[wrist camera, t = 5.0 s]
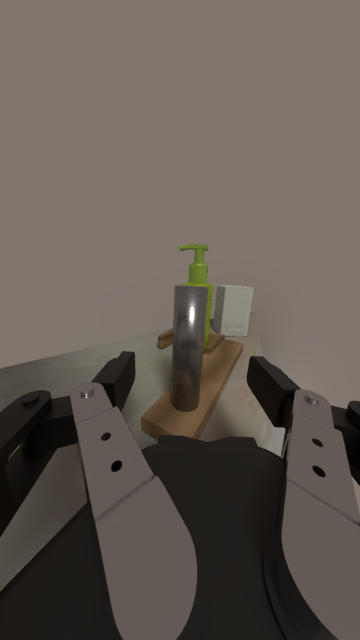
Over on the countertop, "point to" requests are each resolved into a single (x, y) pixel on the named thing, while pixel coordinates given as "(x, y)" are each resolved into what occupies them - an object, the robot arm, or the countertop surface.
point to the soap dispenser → (200, 279)
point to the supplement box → (232, 310)
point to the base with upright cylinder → (191, 368)
